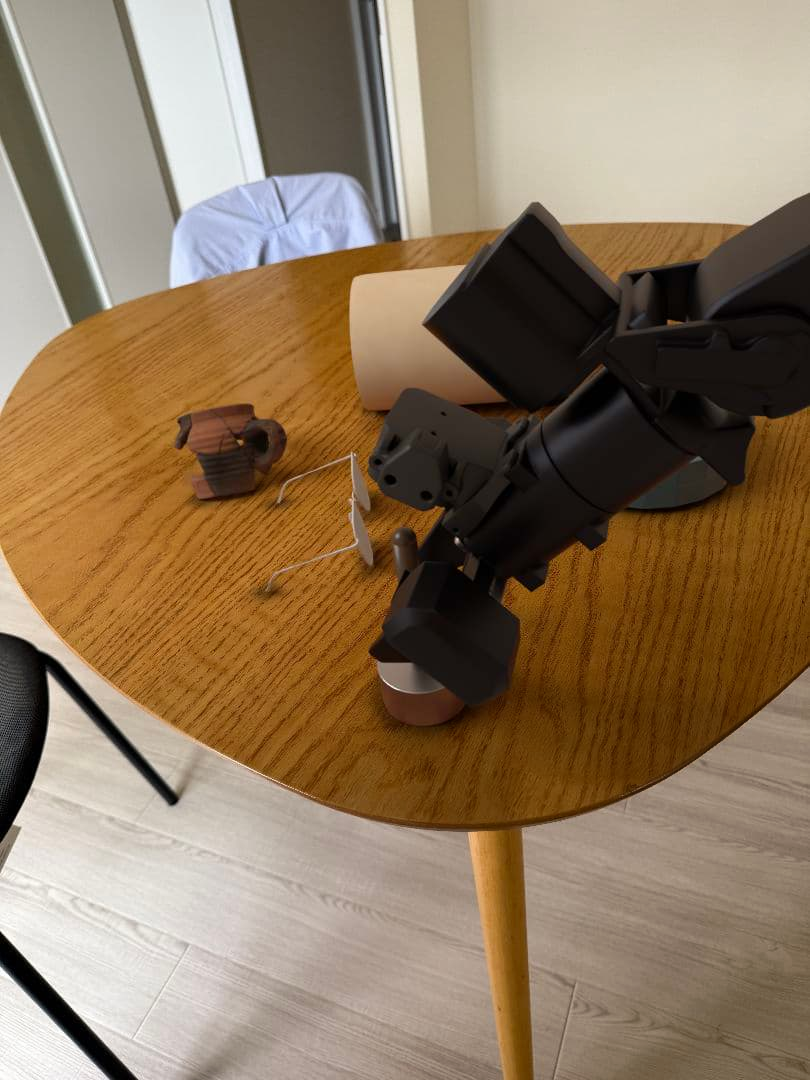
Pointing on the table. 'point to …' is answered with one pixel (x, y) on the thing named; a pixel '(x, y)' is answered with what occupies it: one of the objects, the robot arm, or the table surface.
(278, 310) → the table surface
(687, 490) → the bowl
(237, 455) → the pottery mug
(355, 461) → the sunglasses
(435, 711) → the silver joystick
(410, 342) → the candle
